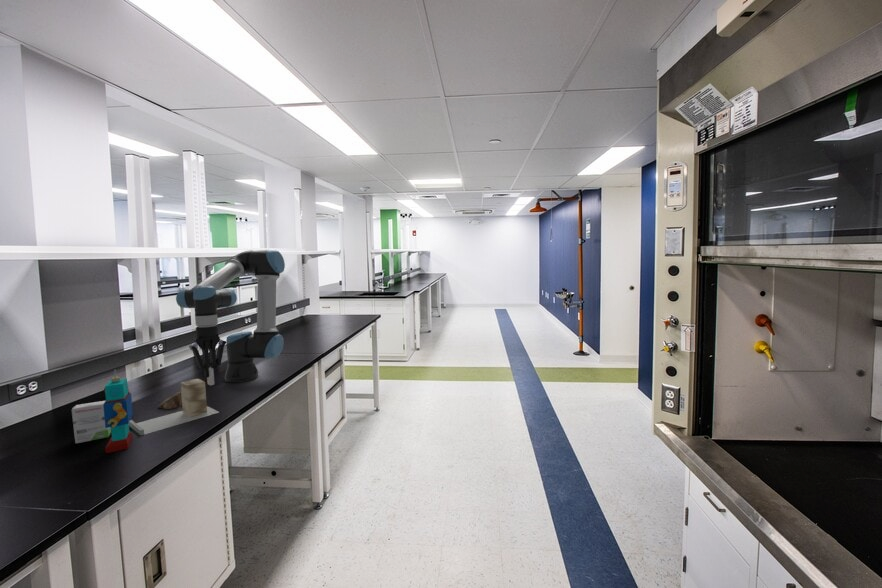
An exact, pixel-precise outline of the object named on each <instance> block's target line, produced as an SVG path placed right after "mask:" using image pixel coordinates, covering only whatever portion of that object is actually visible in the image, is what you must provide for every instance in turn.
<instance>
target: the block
mask: <svg viewBox="0 0 882 588" xmlns="http://www.w3.org/2000/svg"><path fill="white" fill-rule="evenodd" d="M180 391H181V396H182V408H181V409H182V411H183V414H185V415H186V416H188V417H189V418H191V417H194V416H198V415H201V414H204V413H207V406H208V404H207V403H208V402H207V393H206V392H207V390H206V382H205V381H204V380H202V379H200V378H195V379H190V380H186V381H181V382H180Z"/></svg>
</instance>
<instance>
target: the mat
mask: <svg viewBox="0 0 882 588" xmlns="http://www.w3.org/2000/svg"><path fill="white" fill-rule="evenodd" d="M219 413H220V411H219V410H216V409H214V408H212V407H210V406H208V405H207V413H204V414H201V415H198V416H194V417H191V418H189V417H188V416H186V415H185V414H183V410H179V411H176V412H173V413H170V414H169V413H168V414H165V415H163V416H159V417H154V418H151V419H148V420H144V421H143V420H142V421H140V422H135V421H134V420H133V419H130V421H129V428H131V429H132V430H133V431H135V432H136V433H137V434H138V435H139V436H144V435H147V434H150V433H154V432H159V431H161V430H164V429H167V428H171V427H175V426H178V425H181V424H185V423H188V422H191V421H194V420H195V421H196V420H199V419H202V418H205V417H208V416H212V415H215V414H219Z"/></svg>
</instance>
